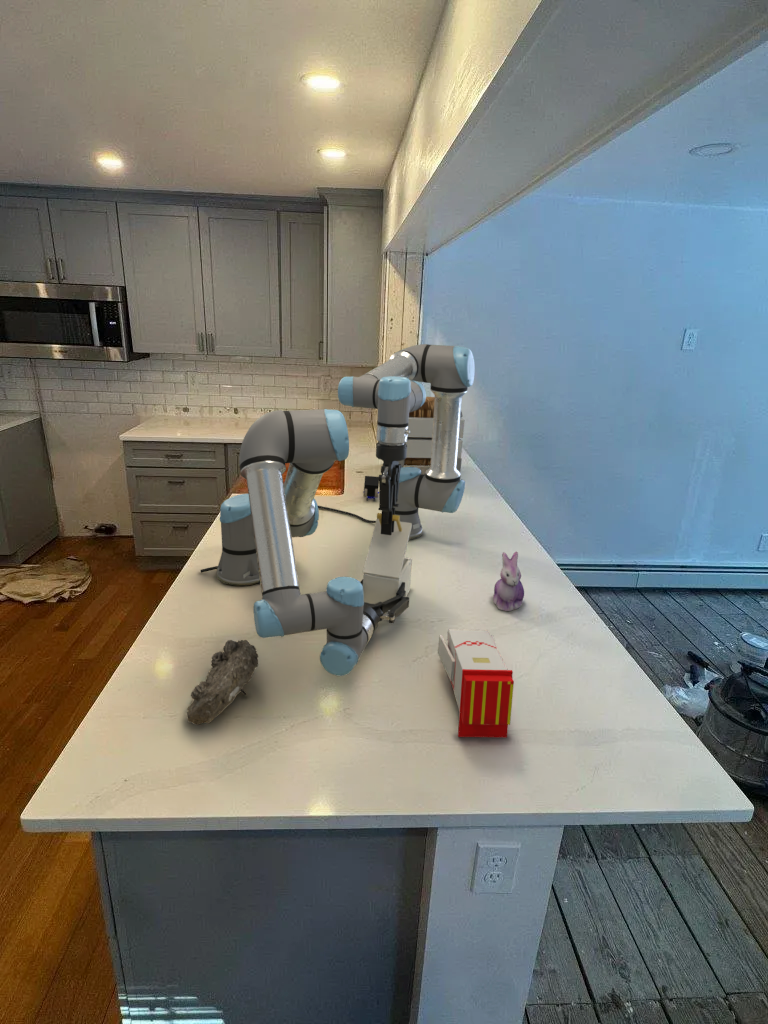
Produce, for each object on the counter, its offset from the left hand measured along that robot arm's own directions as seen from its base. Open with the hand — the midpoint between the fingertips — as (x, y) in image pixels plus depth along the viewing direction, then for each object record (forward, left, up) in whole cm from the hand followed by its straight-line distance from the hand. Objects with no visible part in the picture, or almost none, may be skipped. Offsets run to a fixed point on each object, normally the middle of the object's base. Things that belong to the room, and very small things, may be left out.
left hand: (384, 583), depth 150 cm
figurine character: (-29, +86, -6) cm, 91 cm away
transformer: (-18, +131, -6) cm, 132 cm away
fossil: (-20, -46, -6) cm, 50 cm away
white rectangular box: (0, +2, +9) cm, 9 cm away
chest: (0, +3, -6) cm, 7 cm away
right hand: (0, 0, +14) cm, 14 cm away
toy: (+27, -29, -6) cm, 40 cm away
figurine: (+32, +12, -6) cm, 35 cm away
